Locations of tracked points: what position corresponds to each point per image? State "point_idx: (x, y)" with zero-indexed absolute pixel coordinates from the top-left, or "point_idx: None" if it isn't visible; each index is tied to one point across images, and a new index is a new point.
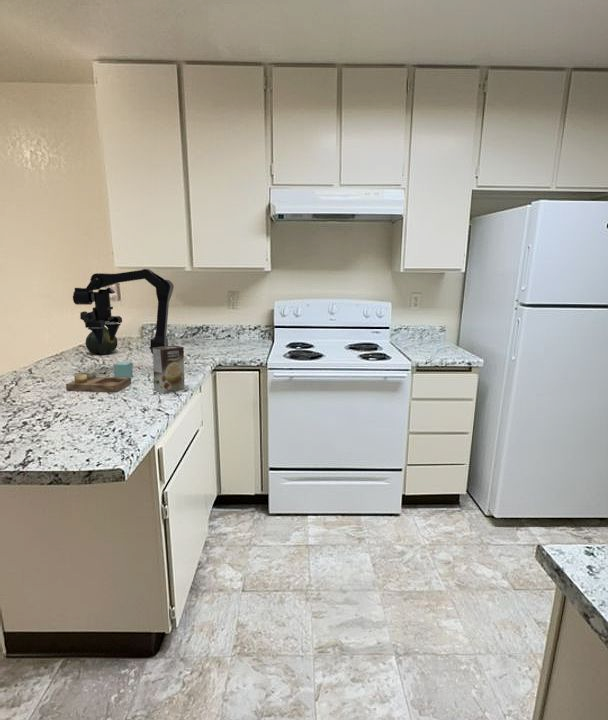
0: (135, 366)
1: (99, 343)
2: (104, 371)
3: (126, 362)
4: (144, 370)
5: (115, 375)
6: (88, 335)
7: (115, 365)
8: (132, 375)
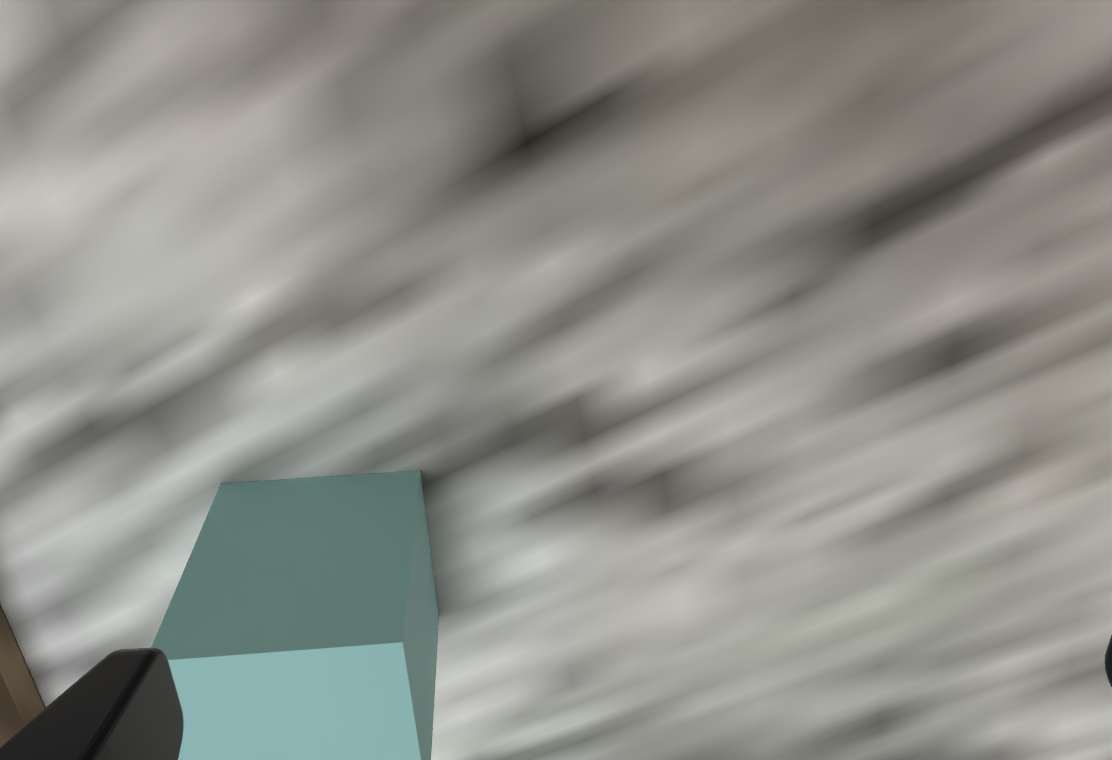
0: (1107, 379)
1: (103, 689)
2: (686, 44)
3: (387, 750)
4: (811, 604)
5: (208, 530)
6: None
7: None
8: (436, 626)
